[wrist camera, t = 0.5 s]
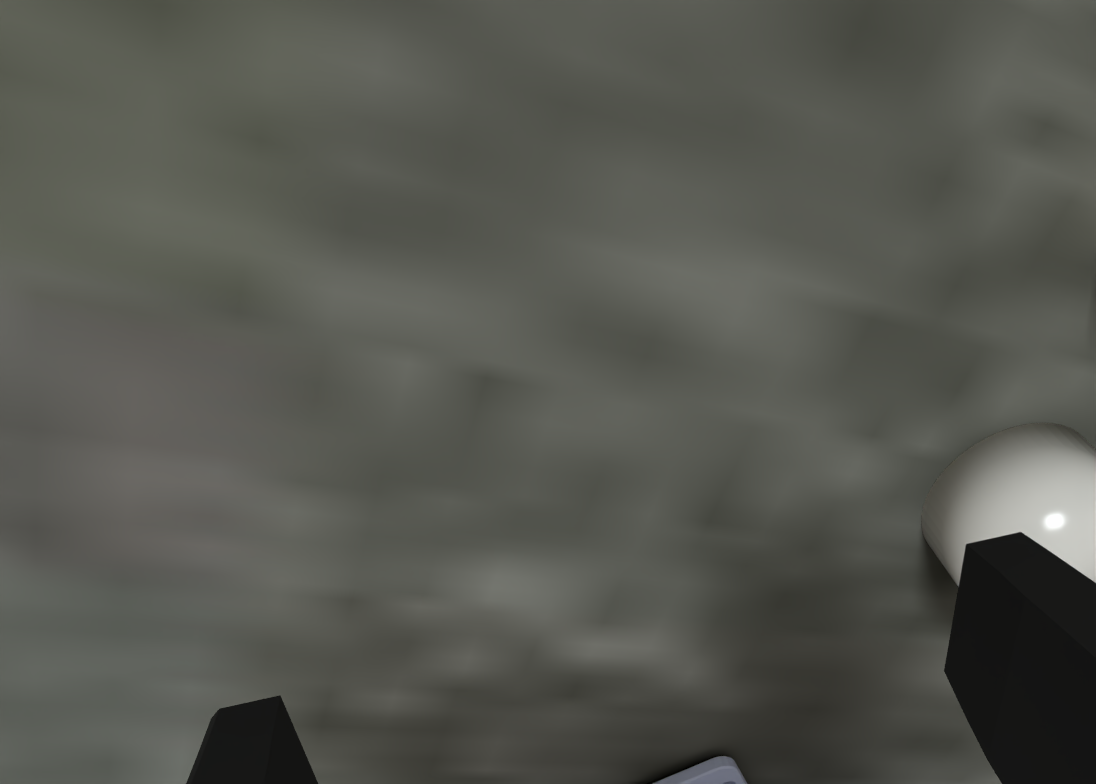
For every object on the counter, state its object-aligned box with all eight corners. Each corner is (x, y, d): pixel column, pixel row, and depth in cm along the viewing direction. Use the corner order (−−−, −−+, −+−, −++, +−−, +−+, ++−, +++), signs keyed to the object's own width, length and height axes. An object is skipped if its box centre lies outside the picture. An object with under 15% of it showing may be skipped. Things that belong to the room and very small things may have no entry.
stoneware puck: (1098, 515, 26) (1177, 600, 23) (935, 583, 26) (997, 675, 24) (1084, 392, 23) (1172, 474, 21) (904, 470, 24) (970, 559, 21)
